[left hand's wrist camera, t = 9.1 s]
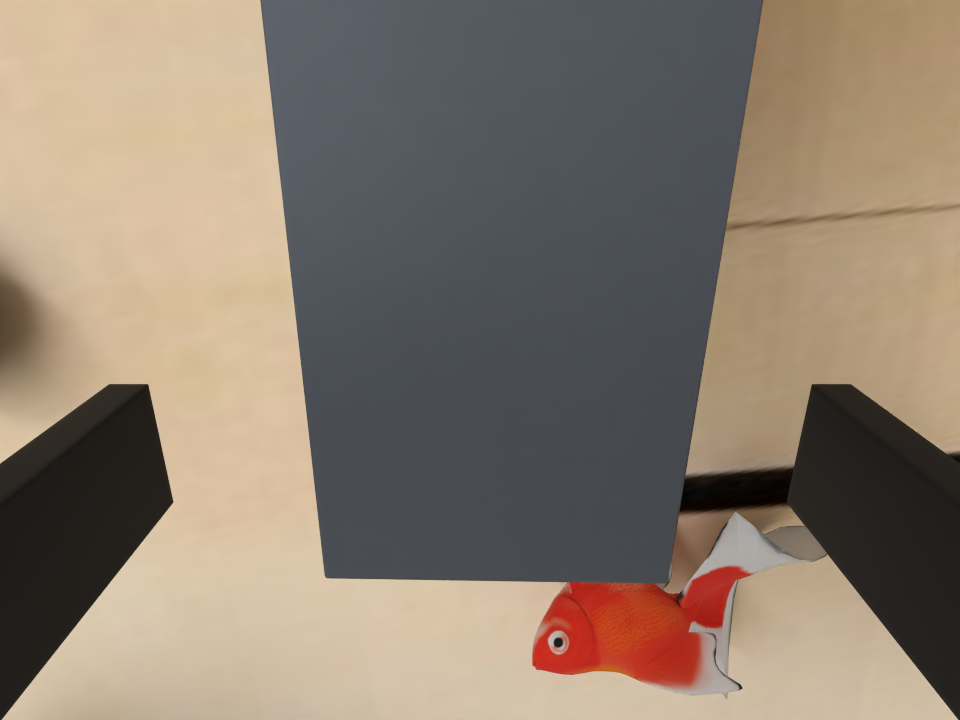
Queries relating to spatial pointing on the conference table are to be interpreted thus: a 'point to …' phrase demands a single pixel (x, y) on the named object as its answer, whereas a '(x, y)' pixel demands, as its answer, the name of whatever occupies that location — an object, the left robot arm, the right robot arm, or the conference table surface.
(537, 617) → the conference table surface
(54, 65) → the conference table surface
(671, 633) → the fish
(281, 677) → the conference table surface
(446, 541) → the bar
